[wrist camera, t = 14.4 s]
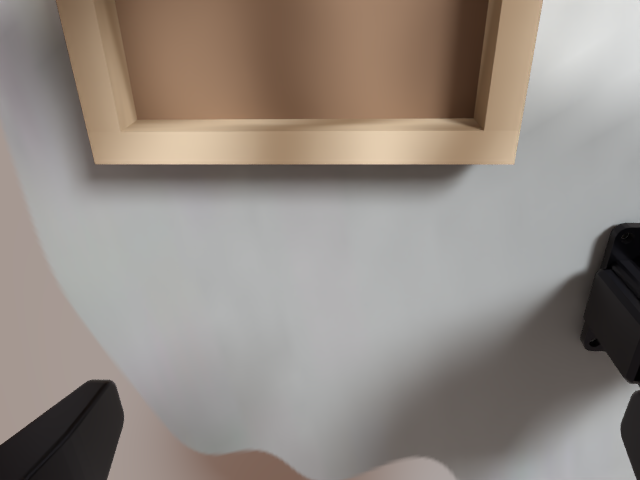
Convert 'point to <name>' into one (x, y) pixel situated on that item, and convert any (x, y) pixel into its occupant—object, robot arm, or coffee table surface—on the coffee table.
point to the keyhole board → (301, 79)
